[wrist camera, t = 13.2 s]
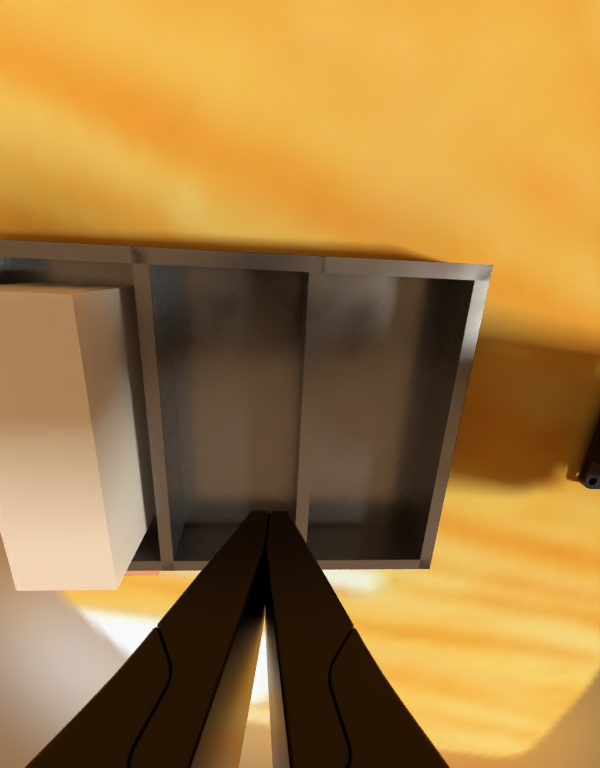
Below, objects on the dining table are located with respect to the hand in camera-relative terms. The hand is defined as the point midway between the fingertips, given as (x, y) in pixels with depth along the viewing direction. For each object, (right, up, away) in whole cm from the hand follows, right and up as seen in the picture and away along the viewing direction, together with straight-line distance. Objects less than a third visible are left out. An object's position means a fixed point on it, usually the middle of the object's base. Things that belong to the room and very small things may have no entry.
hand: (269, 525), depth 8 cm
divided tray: (-2, +2, +10) cm, 11 cm away
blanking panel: (-9, +2, +9) cm, 13 cm away
